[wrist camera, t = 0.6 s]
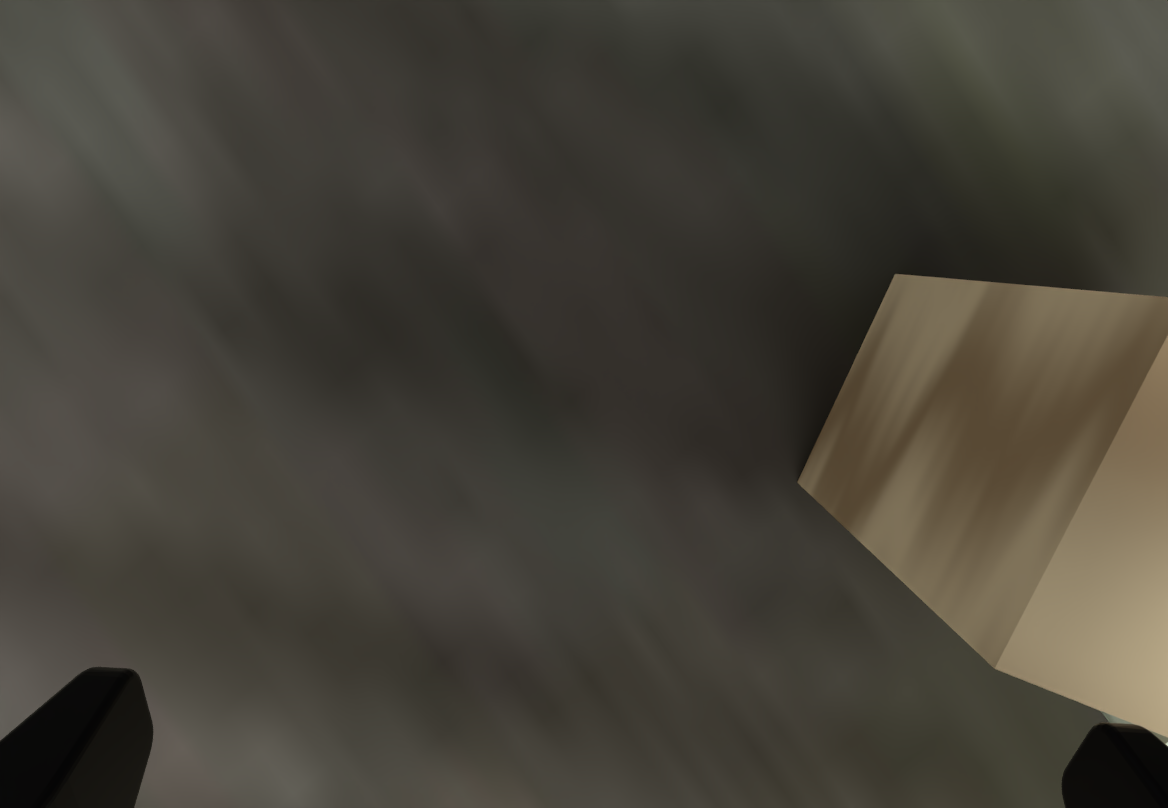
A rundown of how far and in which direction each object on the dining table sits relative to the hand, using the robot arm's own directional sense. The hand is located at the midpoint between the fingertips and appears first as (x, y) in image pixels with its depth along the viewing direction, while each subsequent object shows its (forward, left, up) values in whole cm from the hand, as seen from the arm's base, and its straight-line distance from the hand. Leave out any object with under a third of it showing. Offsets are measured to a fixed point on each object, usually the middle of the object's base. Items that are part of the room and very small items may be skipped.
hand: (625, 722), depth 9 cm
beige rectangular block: (+5, -8, -16) cm, 19 cm away
